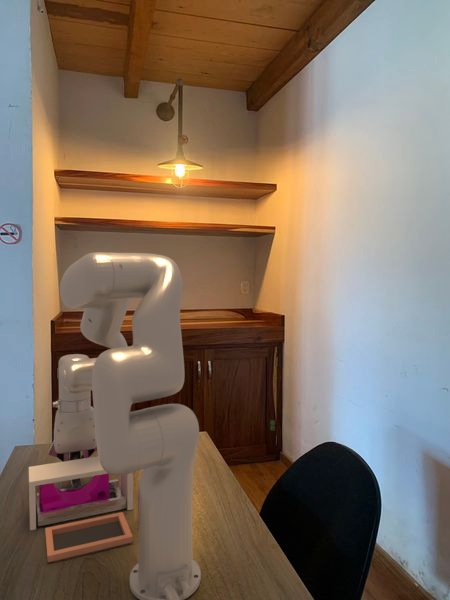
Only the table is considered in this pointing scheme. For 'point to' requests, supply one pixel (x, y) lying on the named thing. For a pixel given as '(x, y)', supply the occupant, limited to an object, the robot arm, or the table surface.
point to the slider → (82, 509)
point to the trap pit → (87, 537)
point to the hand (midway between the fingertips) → (75, 475)
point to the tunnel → (70, 472)
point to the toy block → (73, 494)
